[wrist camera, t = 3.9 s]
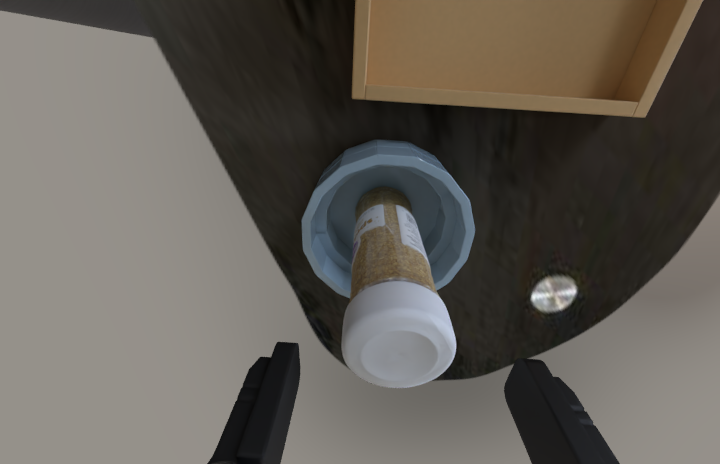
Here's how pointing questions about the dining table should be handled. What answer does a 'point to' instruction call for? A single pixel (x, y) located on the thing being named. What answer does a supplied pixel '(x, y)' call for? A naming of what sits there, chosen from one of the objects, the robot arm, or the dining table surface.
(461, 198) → the bowl
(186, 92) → the dining table surface
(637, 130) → the dining table surface
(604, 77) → the tray
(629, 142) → the dining table surface
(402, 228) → the sprinkles bottle
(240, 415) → the robot arm
